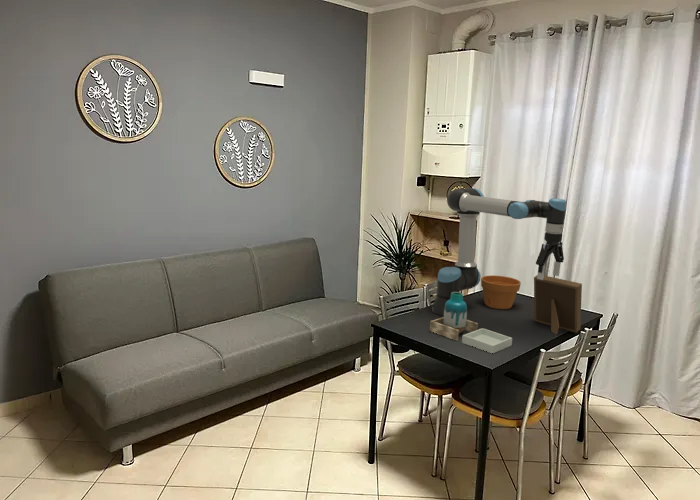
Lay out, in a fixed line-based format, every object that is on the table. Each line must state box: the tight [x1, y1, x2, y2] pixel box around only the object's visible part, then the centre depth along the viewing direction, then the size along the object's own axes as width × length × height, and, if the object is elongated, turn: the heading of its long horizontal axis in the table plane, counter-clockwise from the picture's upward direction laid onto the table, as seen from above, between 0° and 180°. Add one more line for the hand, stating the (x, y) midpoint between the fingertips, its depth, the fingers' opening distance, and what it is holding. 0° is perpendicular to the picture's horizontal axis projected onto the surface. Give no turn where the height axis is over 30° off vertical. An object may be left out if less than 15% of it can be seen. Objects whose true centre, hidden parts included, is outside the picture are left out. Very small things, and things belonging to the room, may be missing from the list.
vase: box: [443, 291, 468, 334], centre depth 246 cm, size 11×11×19 cm
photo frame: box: [533, 274, 583, 335], centre depth 257 cm, size 15×22×25 cm
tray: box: [461, 327, 513, 354], centre depth 235 cm, size 16×16×4 cm
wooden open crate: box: [429, 316, 479, 342], centre depth 248 cm, size 16×16×5 cm
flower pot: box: [480, 275, 522, 310], centre depth 292 cm, size 21×21×15 cm
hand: (548, 277), depth 246 cm, fingers open, 13 cm apart
